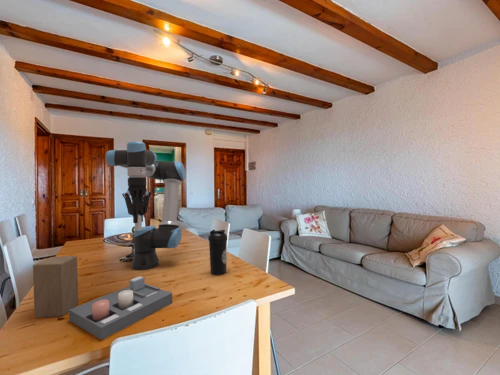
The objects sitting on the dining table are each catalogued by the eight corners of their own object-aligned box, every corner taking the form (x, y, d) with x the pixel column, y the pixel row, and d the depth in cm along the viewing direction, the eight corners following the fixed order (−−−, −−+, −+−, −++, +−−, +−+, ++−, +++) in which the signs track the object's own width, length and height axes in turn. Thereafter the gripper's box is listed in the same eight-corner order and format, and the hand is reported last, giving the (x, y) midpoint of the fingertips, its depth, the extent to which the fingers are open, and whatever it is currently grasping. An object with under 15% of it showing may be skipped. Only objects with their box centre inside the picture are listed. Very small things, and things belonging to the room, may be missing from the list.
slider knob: (129, 289, 104) (129, 279, 104) (140, 285, 109) (140, 275, 108) (133, 291, 103) (133, 281, 103) (144, 287, 107) (144, 277, 107)
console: (69, 320, 89) (68, 306, 89) (139, 290, 113) (139, 280, 113) (101, 340, 78) (101, 324, 78) (172, 302, 102) (172, 290, 101)
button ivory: (115, 307, 92) (115, 293, 92) (128, 301, 96) (128, 288, 96) (123, 310, 89) (123, 296, 89) (136, 304, 94) (135, 291, 94)
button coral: (89, 318, 84) (89, 304, 84) (104, 312, 89) (104, 298, 89) (97, 322, 82) (96, 308, 82) (112, 315, 86) (112, 301, 86)
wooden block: (53, 305, 101) (51, 256, 101) (79, 303, 102) (77, 255, 101) (34, 318, 91) (32, 264, 91) (62, 316, 92) (61, 263, 91)
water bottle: (224, 276, 129) (223, 232, 128) (206, 275, 131) (205, 232, 130) (230, 269, 139) (229, 228, 138) (212, 268, 141) (212, 228, 140)
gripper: (128, 176, 102) (129, 233, 103) (155, 177, 113) (156, 228, 114) (117, 177, 106) (119, 231, 107) (144, 177, 117) (146, 226, 118)
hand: (138, 229), depth 110 cm, fingers closed
